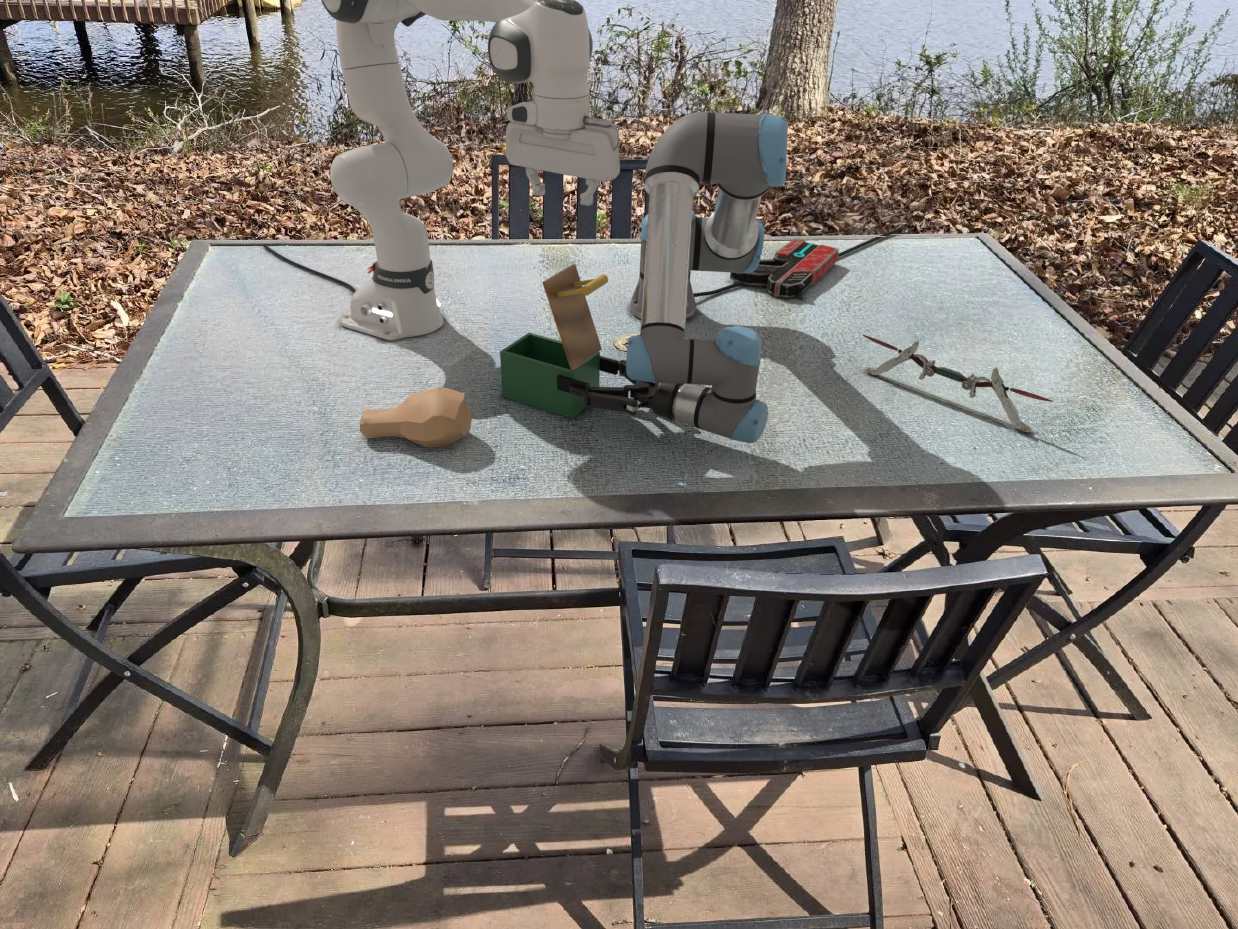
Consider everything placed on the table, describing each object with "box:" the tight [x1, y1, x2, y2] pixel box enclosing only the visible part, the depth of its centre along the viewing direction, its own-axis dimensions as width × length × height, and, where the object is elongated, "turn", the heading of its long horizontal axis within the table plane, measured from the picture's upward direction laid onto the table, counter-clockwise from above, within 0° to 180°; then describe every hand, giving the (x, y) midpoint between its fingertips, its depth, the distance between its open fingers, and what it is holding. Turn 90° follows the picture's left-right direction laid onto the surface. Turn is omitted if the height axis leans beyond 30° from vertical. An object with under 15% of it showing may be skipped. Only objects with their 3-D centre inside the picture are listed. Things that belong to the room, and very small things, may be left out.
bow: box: [862, 334, 1055, 433], centre depth 169 cm, size 39×2×10 cm, turn 47°
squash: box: [359, 386, 473, 449], centre depth 154 cm, size 11×20×9 cm, turn 90°
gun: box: [729, 238, 840, 299], centre depth 224 cm, size 4×31×19 cm
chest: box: [499, 332, 601, 419], centre depth 167 cm, size 16×10×10 cm, turn 61°
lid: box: [541, 263, 609, 370], centre depth 156 cm, size 17×10×8 cm
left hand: (562, 199), depth 147 cm, fingers open, 8 cm apart
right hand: (573, 370), depth 164 cm, fingers closed on chest, 10 cm apart
